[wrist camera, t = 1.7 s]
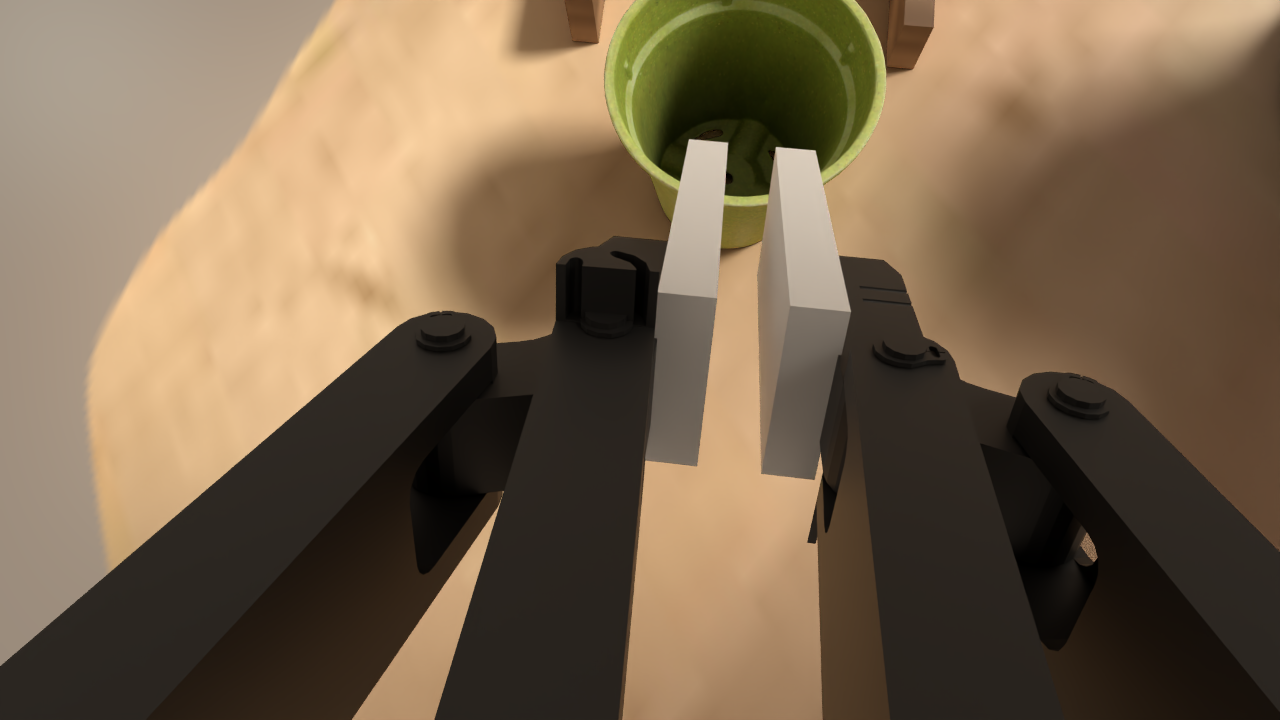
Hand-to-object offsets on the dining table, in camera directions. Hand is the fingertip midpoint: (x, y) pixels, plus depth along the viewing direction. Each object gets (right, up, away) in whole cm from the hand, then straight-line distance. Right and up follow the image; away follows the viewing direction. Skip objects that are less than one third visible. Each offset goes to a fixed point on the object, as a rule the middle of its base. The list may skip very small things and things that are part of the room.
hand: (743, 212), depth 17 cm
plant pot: (+2, +5, +20) cm, 20 cm away
